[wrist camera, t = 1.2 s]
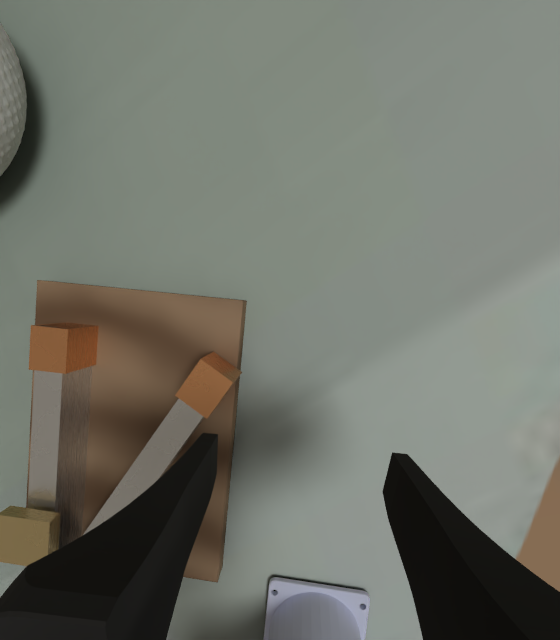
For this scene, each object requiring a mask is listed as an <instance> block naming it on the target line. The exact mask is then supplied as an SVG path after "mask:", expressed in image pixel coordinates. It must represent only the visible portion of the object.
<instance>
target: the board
mask: <svg viewBox="0 0 560 640" xmlns="http://www.w3.org/2000/svg"><path fill="white" fill-rule="evenodd" d="M246 302H247V301H244V300H234V299H224V298H214V297H204V296H194V295H184V294H174V293H164V292H154V291H144V290H134V289H123V288H113V287H103V286H93V285H83V284H73V283H63V282H53V281H41V280H37V298H36V319H35V325H41V324H53V323H65V322H67V323H77V324H86V325H95V326H99V327H98V343H97V360H96V365H93V366H92V380H91V397H90V413H89V429H88V446H87V462H86V479H85V495H84V512H83V528H82V535H83V534H84V533H85V531H86V530H87V528H88V527H89V525H90V524H91V523H92V521H93V520H94V518H95V517H96V516H97V514H98V513H99V511H100V510H101V508H102V507H103V506H104V504H105V503H106V501H107V500H108V498H109V497H110V496H111V494H112V493H113V491H114V490H115V488H116V487H117V486H118V484H119V483H120V481H121V480H122V479H123V477H124V476H125V474H126V473H127V471H128V470H129V469H130V467H131V466H132V464H133V463H134V461H135V460H136V459H137V457H138V456H139V454H140V453H141V451H142V450H143V449H144V447H145V446H146V444H147V443H148V441H149V440H150V439H151V437H152V436H153V434H154V433H155V432H156V430H157V429H158V427H159V426H160V424H161V423H162V422H163V420H164V419H165V417H166V416H167V414H168V413H169V412H170V410H171V409H172V407H173V406H174V404H175V403H176V402H177V400H178V399H179V398H178V397H176V396H175V395H176V393H177V392H178V390H179V389H180V388H181V386H182V385H183V383H184V382H185V380H186V379H187V378H188V376H189V375H190V373H191V372H192V370H193V369H194V368H195V366H196V365H197V363H198V362H199V360H200V359H201V358H203V357H205V356H207V355H208V354H210V353H212V352H215V353H216V354H218V355H219V356H220V357H222V358H223V359H225V360H226V361H227V362H229V363H230V364H231V365H233V366H234V367H236V368H237V369H238V370H240V368H241V357H242V346H243V335H244V324H245V313H246ZM239 379H240V376H239V377H238V378H237V380H236V381H235V383H234V384H233V385H232V387H231V388H230V390H229V391H228V392H227V394H226V395H225V397H224V398H223V399H222V401H221V402H220V404H219V405H218V406H217V407H216V409H215V410H214V411H213V412H212V413H211V415H210V416H209V417H208V418H207V419H206V418H204V419H203V420H202V422H201V423H200V425H199V426H198V427H197V429H196V430H195V432H194V433H193V434H192V436H191V437H190V439H189V440H188V441H187V443H186V444H185V446H184V447H183V448H182V450H181V451H180V452H179V454H178V455H177V457H176V458H175V459H174V461H173V462H172V464H171V465H170V466H169V468H168V469H167V471H168V470H169V469H170V468H171V467H172V466H173V465H174V464H175V463H176V461H177V460H178V459H179V458H180V457H181V456H182V455H183V454H184V453H185V452H186V451H187V450H188V449H189V448H190V447H191V445H192V444H193V443H194V442H195V441H196V440H197V439H198V437H199V436H200V435H201V434H202V433H212V434H218V454H217V475H216V479H215V483H214V488H213V491H212V495H211V499H210V502H209V505H208V507H207V510H206V513H205V515H204V518H203V521H202V524H201V526H200V529H199V532H198V534H197V537H196V540H195V543H194V545H193V548H192V551H191V553H190V556H189V559H188V562H187V565H186V568H185V571H184V575H183V577H187V578H193V579H199V580H206V581H212V582H218V579H219V576H220V572H221V569H222V565H223V554H224V543H225V532H226V521H227V510H228V499H229V488H230V477H231V466H232V455H233V444H234V433H235V423H236V412H237V401H238V390H239ZM33 388H34V370H33V381H32V401H31V422H30V443H29V463H28V484H27V505H26V508H28V490H29V470H30V449H31V429H32V408H33ZM167 471H166V472H167Z"/></svg>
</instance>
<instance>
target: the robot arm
mask: <svg viewBox="0 0 560 640" xmlns="http://www.w3.org/2000/svg"><path fill="white" fill-rule="evenodd" d="M217 454H218V434H212V433H202V434H201V435H200V436H199V437H198V439H197V440H196V441H195V442H194V443H193V444H192V445H191V447H190V448H189V449H188V450H187V451H186V452H185V453H184V454H183V455H182V456H181V457H180V458H179V459H178V460H177V461H176V463H175V464H174V465H173V466H172V467H171V468H170V469H169V470H168V471H167V472H165V473H164V474H163V475H162V476H161V477H160V478H159V479H158V480H157V481H156V482H155V483H154V484H153V485H151V486H150V487H149V488H148V489H147V490H146V491H144V492H143V493H142V494H141V495H140V496H138V497H137V498H136V499H135V500H133V501H132V502H131V503H130V504H128V505H127V506H126V507H124V508H123V509H121V510H120V511H119V512H117V513H116V514H115V515H113V516H112V517H110V518H109V519H107V520H106V521H105V522H103V523H102V524H100V525H98V526H97V527H95V528H94V529H92V530H90V531H89V532H87V533H86V534H84V535H82V536H81V537H79V538H77V539H76V540H74V541H72V542H71V543H69V544H67V545H65V546H64V547H62V548H60V549H58V550H56V551H54V552H52V553H50V554H48V555H47V556H45V557H43V558H41V559H39V560H37V561H35V562H33V563H31V564H29V565H27V567H26V568H25V569H24V570H23V571H22V572H21V573H20V574H19V576H18V577H17V578H16V579H15V580H14V581H13V582H12V584H11V585H10V586H9V587H8V589H7V590H6V591H5V592H4V594H3V595H2V596H1V598H0V640H166V637H167V633H168V630H169V626H170V622H171V618H172V615H173V611H174V607H175V604H176V600H177V596H178V593H179V589H180V586H181V582H182V578H183V575H184V571H185V568H186V565H187V562H188V559H189V556H190V553H191V551H192V548H193V545H194V543H195V540H196V537H197V534H198V532H199V529H200V526H201V524H202V521H203V518H204V515H205V513H206V510H207V507H208V505H209V502H210V499H211V495H212V491H213V488H214V483H215V479H216V475H217ZM383 495H384V501H385V506H386V511H387V515H388V519H389V523H390V526H391V529H392V532H393V535H394V538H395V541H396V544H397V547H398V550H399V554H400V557H401V560H402V563H403V566H404V569H405V572H406V575H407V578H408V581H409V584H410V588H411V591H412V595H413V598H414V602H415V607H416V611H417V615H418V619H419V623H420V628H421V632H422V636H423V640H560V592H559V591H557V590H555V589H554V588H553V587H552V586H550V585H548V584H547V583H546V582H545V581H543V580H542V579H541V578H539V577H538V576H536V575H535V574H534V573H532V572H531V571H530V570H529V569H527V568H526V567H525V566H523V565H522V564H521V563H519V562H518V561H517V560H516V559H514V558H513V557H512V556H511V555H509V554H508V553H507V552H506V551H504V550H503V549H502V548H501V547H500V546H498V545H497V544H496V543H495V542H494V541H493V540H491V539H490V538H489V537H488V536H487V535H486V534H485V533H483V532H482V531H481V530H480V529H479V528H478V527H477V526H476V525H475V524H473V523H472V522H471V521H470V520H469V519H468V518H467V517H466V516H465V515H464V514H463V513H462V512H461V511H460V510H459V509H458V508H457V507H456V506H455V505H454V504H453V503H452V502H451V501H450V500H449V499H448V498H447V497H446V496H445V495H444V494H443V493H442V492H441V491H440V489H439V488H438V487H437V486H436V485H435V484H434V483H433V482H432V481H431V480H430V479H429V478H428V476H427V475H426V474H425V473H424V472H423V471H422V470H421V469H420V468H419V466H418V465H417V464H416V463H415V462H414V461H413V460H412V459H411V458H410V457H409V456H408V454H400V453H392V456H391V460H390V464H389V468H388V472H387V476H386V480H385V484H384V488H383ZM273 590H277V591H273ZM360 604H364V605H360ZM369 604H370V598H369V595H368V593H367V592H366V591H362V590H356V589H349V588H343V587H337V586H330V585H324V584H317V583H311V582H304V581H298V580H292V579H285V578H279V577H273V578H271V579H270V582H269V590H268V600H267V610H266V620H265V630H264V639H263V640H365V636H366V628H367V620H368V612H369Z"/></svg>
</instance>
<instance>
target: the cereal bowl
mask: <svg viewBox="0 0 560 640" xmlns="http://www.w3.org/2000/svg"><path fill="white" fill-rule="evenodd" d="M26 98H27V95H26V89H25V81H24V78H23V72H22V69H21V66H20V62H19V59H18V57H17V55H16V52H15V48H14V47H13V45H12V43H11V41H10V39H9V36H8V34H7V33H6V32H5V30H4V28H3V26H2V24H1V23H0V176H1V175H2V174H3V172H4V171H5V170H6V169H7V168H8V166H9V165H10V163H11V161H12V160H13V157H14V156H15V155H16V152H17V150H18V147H19V145H20V143H21V138H22V136H23V132H24V130H25V122H26V108H27V103H26Z"/></svg>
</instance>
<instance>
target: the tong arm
mask: <svg viewBox="0 0 560 640" xmlns="http://www.w3.org/2000/svg"><path fill="white" fill-rule="evenodd" d="M241 373H242V372H241V371H240V370H238V369H237V368H236V367H234V366H233V365H231V364H230V363H229V362H227V361H226V360H225V359H223V358H222V357H220V356H219V355H218V354H216V353H215V352H212V353H210V354H208V355H207V356H205V357H203V358H201V359H200V360H199V362H198V363H197V365H196V366H195V368H194V369H193V370H192V372H191V373H190V375H189V376H188V378H187V379H186V380H185V382H184V383H183V385H182V386H181V388H180V389H179V390H178V392H177V393H176V395H175V396H176V397H178V398H179V399H178V400H177V402H176V403H175V404H174V406H173V407H172V409H171V410H170V412H169V413H168V414H167V416H166V417H165V419H164V420H163V422H162V423H161V424H160V426H159V427H158V429H157V430H156V432H155V433H154V434H153V436H152V437H151V439H150V440H149V441H148V443H147V444H146V446H145V447H144V449H143V450H142V451H141V453H140V454H139V456H138V457H137V459H136V460H135V461H134V463H133V464H132V466H131V467H130V469H129V470H128V471H127V473H126V474H125V476H124V477H123V479H122V480H121V481H120V483H119V484H118V486H117V487H116V488H115V490H114V491H113V493H112V494H111V496H110V497H109V498H108V500H107V501H106V503H105V504H104V506H103V507H102V508H101V510H100V511H99V513H98V514H97V516H96V517H95V518H94V520H93V521H92V523H91V524H90V525H89V527H88V528H87V530H86V531H85V533H84V534H86V533H87V532H89V531H90V530H92V529H94V528H95V527H97V526H98V525H100V524H102V523H103V522H105V521H106V520H107V519H109V518H110V517H112V516H113V515H115V514H116V513H117V512H119V511H120V510H121V509H123V508H124V507H126V506H127V505H128V504H130V503H131V502H132V501H133V500H135V499H136V498H137V497H138V496H140V495H141V494H142V493H143V492H144V491H146V490H147V489H148V488H149V487H150V486H151V485H153V484H154V483H155V482H156V481H157V480H158V479H159V478H160V477H161V476H162V475H163V474H164V473H165V472H166V471H167V469H168V468H169V466H170V465H171V464H172V462H173V461H174V459H175V458H176V457H177V455H178V454H179V452H180V451H181V450H182V448H183V447H184V446H185V444H186V443H187V441H188V440H189V439H190V437H191V436H192V434H193V433H194V432H195V430H196V429H197V427H198V426H199V425H200V423H201V422H202V420H203V419H204V418H206V419H207V418H208V417H209V416H210V415H211V413H212V412H213V411H214V410H215V409H216V407H217V406H218V405H219V404H220V402H221V401H222V399H223V398H224V397H225V395H226V394H227V392H228V391H229V390H230V388H231V387H232V385H233V384H234V383H235V381H236V380H237V378H238V377H239V376H240V374H241ZM84 534H83V535H84Z"/></svg>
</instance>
